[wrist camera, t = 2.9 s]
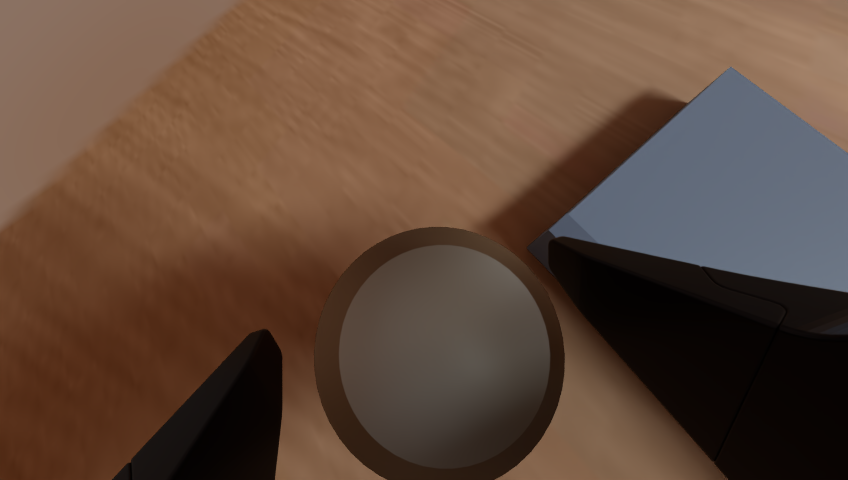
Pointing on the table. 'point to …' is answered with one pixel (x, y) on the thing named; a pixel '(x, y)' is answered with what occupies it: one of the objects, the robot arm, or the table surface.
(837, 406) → the robot arm
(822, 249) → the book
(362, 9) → the table surface
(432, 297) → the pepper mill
